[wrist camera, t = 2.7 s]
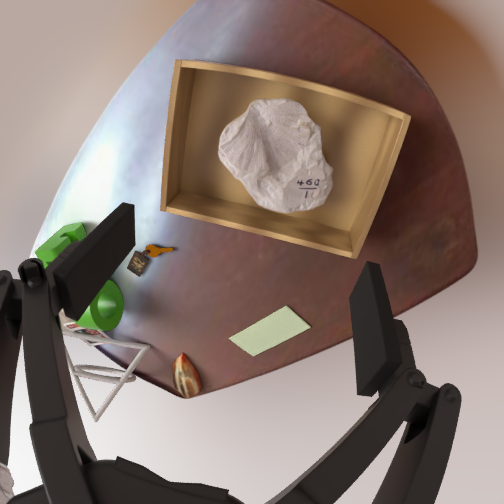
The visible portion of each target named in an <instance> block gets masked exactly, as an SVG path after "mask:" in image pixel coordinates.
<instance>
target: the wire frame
mask: <svg viewBox="0 0 504 504" xmlns="http://www.w3.org/2000/svg"><path fill="white" fill-rule="evenodd" d="M62 334H63V335H67V336H71V337H76V338H81V339H85V340H90V341H96V342H101V343H106V344H112V345H118V346H124V347H130V348H136V349H141V351H140V352H139V353H138V355H137V356H136V358H135V359H134V360H133V362H132V363H131V364H130V366H129V367H128V369H127V370H126V371H122V370H118V369H113V368H107V367H101V366H94V365H76V366H73V364H72V361H71V359H70V357H69V354H68V351H67V349H66V346H65V344H64V346H65V352H66V357H67V362H68V367H69V369H70V372H71V374H72V376H73V379H74V381H75V383H76V385H77V387H78V389H79V391H80V394H81V396H82V398H83V400H84V402H85V404H86V406H87V408H88V410H89V412H90V414H91V416H92V418H93V420H94V421H95V422H97V421H98V420H99V418H100V417H101V415H102V414H103V412H104V411H105V410H106V408H107V407H108V405H109V404H110V402H111V401H112V400H113V398H114V397H115V395H116V394H117V393H118V391H119V390H120V388H121V387H122V386H123V384H124V383H125V382H126V383H128V382H133V381H135V380H136V376H135V375H134V374H132V372H133V370H134V369H135V367H136V366H137V365H138V363H139V362H140V360H141V359H142V358H143V356H144V355H145V353H146V352H147V351H148V349H149V348H150V345H147V344H140V343H134V342H127V341H121V340H115V339H110V338H104V337H99V336H94V335H88V334H83V333H78V332H71V331H69V330H64V329H62ZM81 369H87V370H98V371H105V372H111V373H116V374H120V375H123V376H122V377H110V376H103V375H98V374H93V373H89V372H85V371H83V370H81ZM78 376H80V377H84V378H88V379H94V380H98V381H103V382H108V383H114V384H116V386H115V387H114V388H113V390H112V391H111V393H110V394H109V396H108V397H107V398H106V400H105V401H104V403H103V404H102V406H101V407H100V409H99V410H98V411H97V413H95V411H94V409H93V407H92V405H91V403H90V401H89V399H88V397H87V395H86V393H85V391H84V389H83V387H82V384H81V382H80V380H79V378H78Z"/></svg>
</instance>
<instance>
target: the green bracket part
mask: <svg viewBox="0 0 504 504" xmlns="http://www.w3.org/2000/svg"><path fill="white" fill-rule="evenodd" d="M85 236H86V231H85V229H84V227H83V225H82V223H76V224H71V225H66V226H63V227H62V228H61V229H60V230H59V231H57V232H56V233H55V234H54V235H53V236H52V237H51V238H49V239H48V240H47V241H46V242H45V243H44V244H43V245H42V246H41V247H39V248H38V249H37V250H36V251H35V254H36V255H37V257H38V259H40V260H42V261H43V265H44V268H46V267H47V266H48V265H49V264H50V263H51V262H52V261H53V260H54V259H55V258H56V257H58V255H59V254H60V253H61V252H62V251H63V250H64V249H65V248H66V247H67V246H68V245H69V244H71V243H73V242H75V241H76V240H77V241H81V240H82V239H83V238H84V237H85ZM122 314H123V298H122V294H121V292H120V289H119V288H118V286H117V285H116V284H115V283H114V282H112V281H110V280H108V281H107V282H106V284H105V285H104V286H103V288H102V289H101V290H100V292H99V293H98V294H97V296H96V297H95V298H94V300H93V301H92V303H91V304H90V305H89V307H88V308H87V310H86V311H85V312H84V314H83V315H82V317H81V318H80V319H79V321H78V322H77V321H75V320H73V321H74V322H75V323H76V324H77V325H78V326H80V327H82V328H88V329H95V330H103V331H110V330H112V329H114V328H115V327H116V326H117V325H118V324H119V322H120V320H121V318H122Z"/></svg>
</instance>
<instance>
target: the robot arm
mask: <svg viewBox="0 0 504 504" xmlns="http://www.w3.org/2000/svg"><path fill="white" fill-rule="evenodd" d="M134 246H135V212H134V205H133V204H128V203H124V202H123V203H122V204H120V205H119V206H118V207H117V208H116V209H115V210H114V211H113V212H112V213H111V214H110V215H109V216H107V217H106V218H105V219H104V220H103V221H102V222H101V223H100V224H99V225H98V226H97V227H96V228H95V229H94V230H93V231H92V232H91V233H90V234H89V235H88V236H87V237H86V238H85V239H84V240H83V241H82V242H81V241H77V240H76V241H75V242H73V243H71V244H69V245H68V246H67V247H66V248H65V249H64V250H63V251H62V252H61V253H60V254H59V255H58V257H56V258H55V259H54V260H53V261H52V262H51V263H50V264H49V265H48V266H47V267H46V268H44V265H43V261H42V260H40V259H38V258H30V259H27V260H25V261H24V262H22V263H21V264H20V265H19V268H18V272H19V275H20V278H21V280H18V279H13V278H12V275H11V273H10V272H9V271H7V270H2V271H0V504H244V503H243V502H241V501H240V500H239V499H237V498H235V497H233V496H231V495H229V494H228V491H229V490H227V489H222V488H218V487H213V486H209V485H205V484H201V483H179V482H169V481H167V480H165V479H163V478H162V477H160V476H159V475H157V474H155V473H153V472H152V471H150V470H149V469H147V468H146V467H144V466H142V465H139V464H137V463H134V462H131V461H128V460H126V459H124V458H121V457H119V456H117V458H116V460H98V461H97V458H96V456H95V454H94V451H93V450H92V448H91V446H90V444H89V441H88V439H87V435H86V432H85V429H84V426H83V423H82V419H81V416H80V412H79V409H78V405H77V401H76V397H75V393H74V390H73V385H72V381H71V377H70V372H69V367H68V362H67V357H66V352H65V346H64V340H63V334H62V327H61V320H60V316H59V312H60V311H61V310H62V309H63V311H64V314H65V317H68V318H70V319H72V320H75V321H77V322H78V321H79V319H80V318H81V317H82V315H83V314H84V312H85V311H86V310H87V308H88V307H89V305H90V304H91V303H92V301H93V300H94V298H95V297H96V296H97V294H98V293H99V292H100V290H101V289H102V288H103V286H104V285H105V284H106V282H107V281H108V280H109V278H110V277H111V276H112V274H113V273H114V272H115V270H116V269H117V268H118V266H119V265H120V264H121V263H122V261H123V260H124V259H125V257H126V256H127V255H128V254H129V252H130V251H131V250H132V249H133V247H134ZM349 302H350V311H351V320H352V330H353V341H354V352H355V366H356V383H357V395H361V396H370V397H372V396H373V395H374V394H375V393H376V392H377V391H378V393H379V398H378V399H377V400H376V401H375V402H374V403H373V404H372V405H371V406H370V407H369V408H368V410H367V411H366V412H365V413H364V415H363V416H362V417H361V418H360V419H359V420H358V421H357V422H356V423H355V424H354V426H352V428H351V429H350V430H349V431H348V432H347V433H346V434H345V435H344V436H343V437H342V438H341V439H340V440H339V441H338V442H337V443H336V444H335V445H334V446H333V447H332V448H331V449H330V450H329V451H327V452H326V453H325V454H324V455H323V456H322V457H321V458H320V459H319V460H318V461H317V462H316V463H315V464H313V465H312V466H311V467H310V468H309V469H308V470H307V471H306V472H304V473H303V474H302V475H301V476H300V477H299V478H297V479H296V480H295V481H294V482H293V483H292V484H290V485H289V486H288V487H286V488H285V489H284V490H283V491H281V492H280V493H279V494H278V495H276V496H275V497H274V498H272V499H271V500H269V501H268V502H266V503H265V504H333V503H335V502H336V501H337V500H338V498H340V497H341V495H342V494H343V493H344V492H345V491H346V490H347V489H348V488H349V487H350V486H351V485H352V484H353V483H354V482H355V481H356V480H357V479H358V477H359V476H360V475H361V474H362V473H363V472H364V471H365V470H366V468H367V467H368V466H369V465H370V463H371V462H372V461H373V460H374V459H375V458H376V457H377V455H378V454H379V453H380V452H381V450H382V449H383V448H384V447H385V445H386V444H387V442H388V441H389V440H390V439H391V438H392V436H393V435H394V434H395V432H396V431H397V430H398V428H399V427H400V426H401V424H402V423H403V421H406V422H407V425H406V428H405V430H404V433H403V436H402V438H401V441H400V443H399V446H398V448H397V451H396V453H395V456H394V458H393V460H392V463H391V465H390V467H389V469H388V472H387V474H386V476H385V478H384V480H383V483H382V485H381V486H380V489H379V491H378V493H377V495H376V497H375V499H374V500H373V502H372V504H434V503H435V500H436V497H437V495H438V491H439V489H440V486H441V483H442V480H443V476H444V473H445V470H446V467H447V463H448V460H449V456H450V452H451V448H452V444H453V440H454V436H455V432H456V427H457V422H458V417H459V412H460V407H461V394H460V391H459V390H458V388H456V387H455V386H454V385H452V384H450V383H447V384H444V385H443V386H441V387H440V388H438V387H436V386H433V385H431V384H429V383H427V382H426V378H425V376H424V374H423V373H422V372H421V371H419V370H418V369H416V365H415V360H414V356H413V351H412V347H411V345H410V344H411V343H410V339H409V334H408V331H407V328H406V326H405V325H404V324H403V322H402V320H397V319H393V315H392V310H391V306H390V302H389V298H388V294H387V291H386V287H385V283H384V279H383V276H382V272H381V269H380V265H379V264H377V263H373V262H369V261H367V262H366V264H365V266H364V268H363V270H362V272H361V275H360V277H359V279H358V281H357V283H356V285H355V287H354V289H353V291H352V293H351V295H350V297H349ZM22 335H23V349H24V361H25V372H26V380H27V388H28V395H29V402H30V408H31V413H32V420H33V422H32V424H30V428H29V429H30V436H31V440H32V445H33V449H34V453H35V457H36V461H37V465H38V468H39V471H40V475H41V478H42V482H43V484H42V485H40V486H38V487H35V488H33V489H31V490H28V491H26V492H23V493H21V494H18V495H16V496H14V493H13V491H12V487H13V485H14V480H13V478H12V477H11V473H10V471H9V469H8V468H7V465H8V458H9V447H10V424H11V410H12V399H13V390H14V382H15V375H16V368H17V362H18V356H19V350H20V345H21V340H22Z"/></svg>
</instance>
